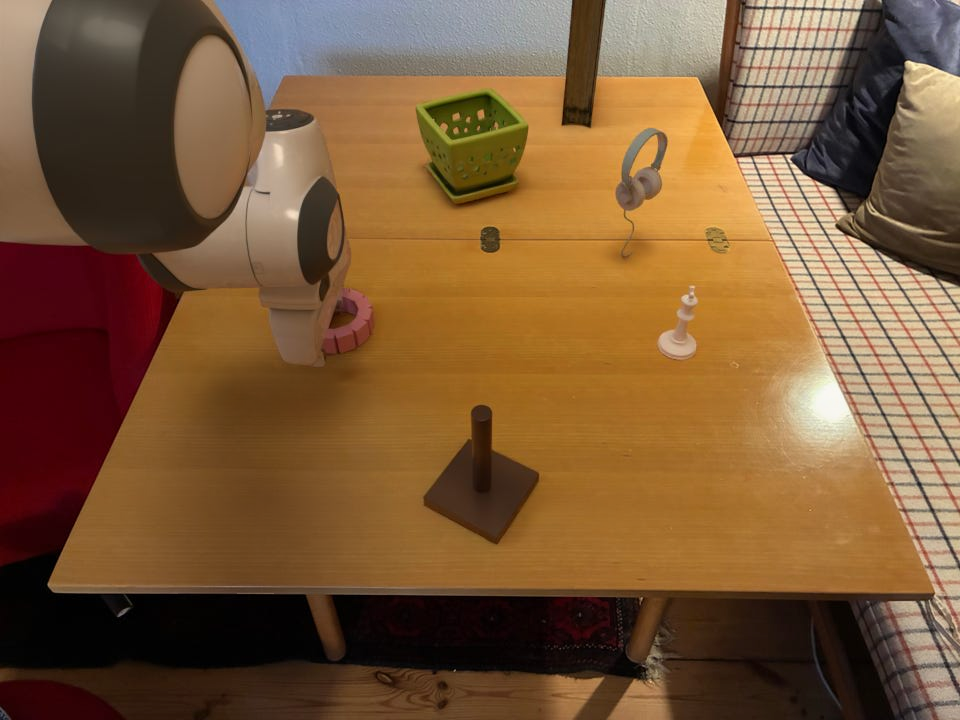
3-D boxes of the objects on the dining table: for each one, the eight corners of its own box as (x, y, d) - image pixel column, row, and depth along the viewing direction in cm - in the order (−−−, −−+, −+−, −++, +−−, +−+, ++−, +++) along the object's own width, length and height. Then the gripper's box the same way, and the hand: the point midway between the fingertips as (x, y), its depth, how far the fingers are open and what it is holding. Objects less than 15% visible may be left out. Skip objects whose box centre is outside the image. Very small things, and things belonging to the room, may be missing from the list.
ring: (365, 355, 89) (363, 340, 87) (291, 351, 89) (286, 335, 87) (380, 305, 96) (377, 289, 94) (310, 301, 96) (306, 285, 94)
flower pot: (418, 173, 119) (412, 102, 110) (491, 155, 123) (491, 85, 114) (450, 216, 110) (447, 142, 101) (528, 195, 114) (532, 122, 105)
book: (567, 88, 141) (579, -49, 123) (594, 90, 140) (610, -48, 122) (561, 127, 130) (573, -17, 112) (590, 129, 129) (607, -16, 111)
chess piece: (695, 335, 91) (713, 276, 84) (696, 362, 88) (715, 302, 81) (657, 331, 92) (671, 271, 84) (657, 357, 88) (672, 298, 81)
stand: (496, 544, 70) (498, 467, 61) (423, 504, 74) (414, 425, 64) (538, 480, 76) (546, 400, 66) (468, 446, 79) (466, 364, 69)
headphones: (619, 275, 100) (642, 148, 85) (597, 263, 102) (616, 137, 87) (654, 250, 104) (681, 125, 89) (632, 239, 106) (656, 115, 91)
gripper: (304, 195, 86) (323, 282, 96) (252, 306, 72) (281, 394, 82) (354, 197, 85) (368, 284, 95) (312, 309, 71) (334, 397, 81)
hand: (327, 336), depth 88 cm, fingers open, 8 cm apart
